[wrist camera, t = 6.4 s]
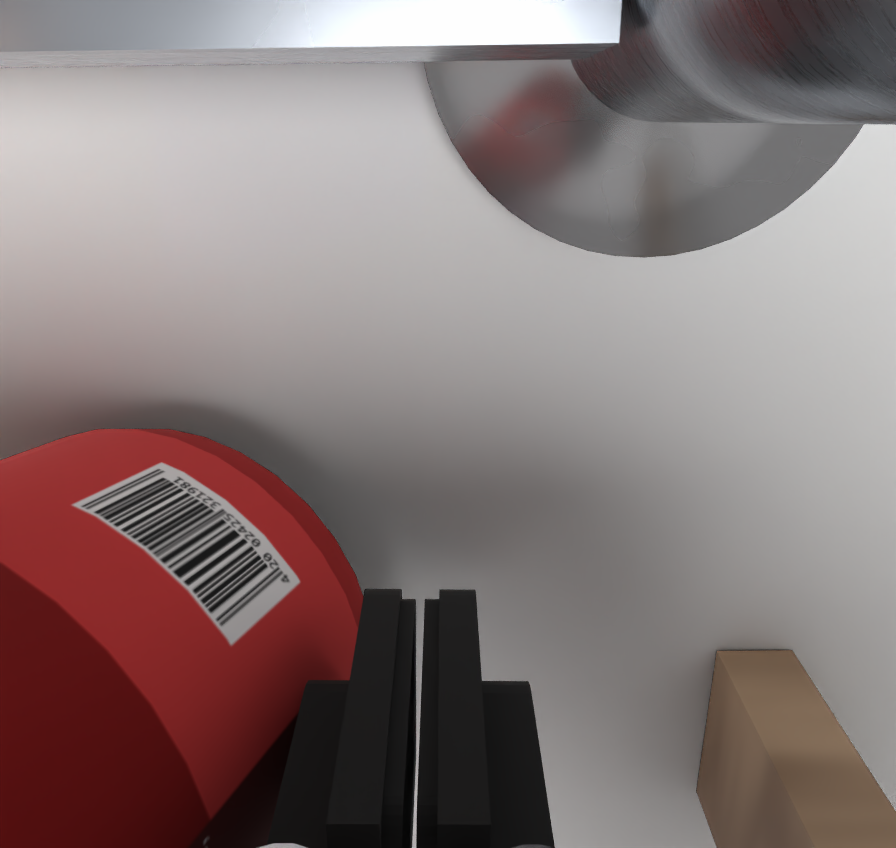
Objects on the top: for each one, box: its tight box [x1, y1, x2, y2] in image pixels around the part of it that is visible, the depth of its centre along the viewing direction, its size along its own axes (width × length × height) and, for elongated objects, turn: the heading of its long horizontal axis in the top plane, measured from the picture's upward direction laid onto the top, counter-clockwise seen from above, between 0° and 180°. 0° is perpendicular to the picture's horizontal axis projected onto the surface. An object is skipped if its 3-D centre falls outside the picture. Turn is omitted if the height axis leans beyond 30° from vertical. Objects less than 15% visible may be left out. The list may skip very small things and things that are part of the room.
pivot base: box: [424, 60, 864, 257], centre depth 11 cm, size 7×7×1 cm
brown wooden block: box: [696, 650, 896, 848], centre depth 14 cm, size 4×2×6 cm, turn 1°
